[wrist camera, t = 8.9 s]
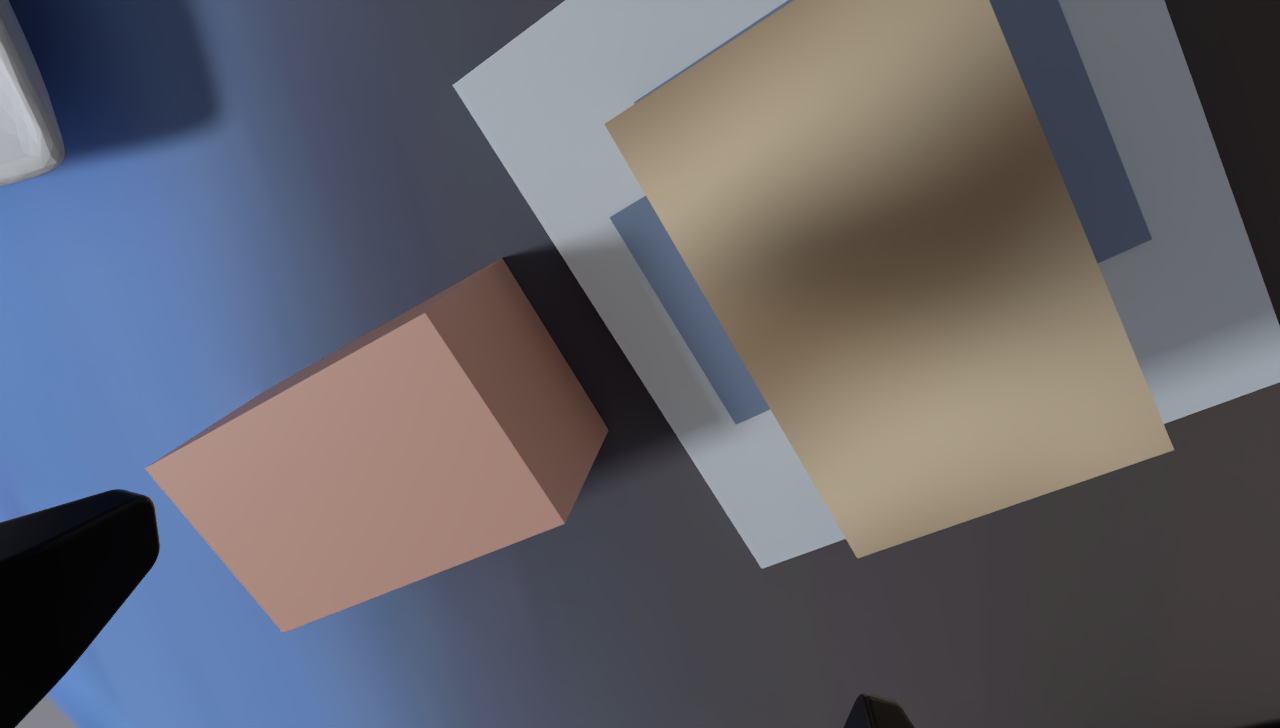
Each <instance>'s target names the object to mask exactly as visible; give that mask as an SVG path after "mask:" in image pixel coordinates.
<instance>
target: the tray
mask: <svg viewBox="0 0 1280 728" xmlns="http://www.w3.org/2000/svg"><path fill="white" fill-rule="evenodd" d="M64 157H65V149H64V143H63V139H62V136H61V133H60V129H59V126H58V123H57V120H56V117H55V114H54V111H53V107H52V104H51V101H50V98H49V95H48V92H47V89H46V86H45V84H44V81H43V79H42V76H41V74H40V71H39V68H38V66H37V63H36V61H35V58H34V56H33V54H32V52H31V49H30V47H29V45H28V42H27V40H26V38H25V35H24V33H23V31H22V29H21V26H20V24H19V22H18V20H17V18H16V16H15V13H14V11H13V9H12V7H11V5H10V2H9V0H0V186H3V185H7V184H12V183H16V182H19V181H23V180H27V179H30V178H34V177H38V176H41V175H44V174H46V173H48V172H50V171H52V170H54V169H56V168H57V167H58V166H60V164H61V163H62V161H63V159H64Z"/></svg>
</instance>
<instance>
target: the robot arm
mask: <svg viewBox="0 0 1280 728" xmlns="http://www.w3.org/2000/svg"><path fill="white" fill-rule="evenodd" d="M159 549H160V543H159V536H158V529H157V522H156V514H155V507H154V504H153V502H152V501H151V499H150V498H149V497H147V496H144V495H141V494H137V493H133V492H130V491H126V490H120V489H116V490H110V491H107V492H103V493H100V494H97V495H93V496H90V497H86V498H83V499H79V500H76V501H73V502H69V503H66V504H62V505H59V506H56V507H52V508H49V509H45V510H42V511H38V512H35V513H32V514H28V515H25V516H21V517H18V518H15V519H11V520H8V521H4V522H1V523H0V728H15V727H16V726H17V725H18V724H19V723H20V722H21V720H23V719H24V718H25V716H26V715H27V714H28V713H29V712H30V711H31V710H32V709H33V708H34V707H35V706H36V705H37V704H38V703H39V702H40V701H41V700H42V699H43V698H44V697H45V696H46V694H47V693H48V692H49V691H50V690H51V689H52V688H53V687H54V686H55V685H56V684H57V683H58V682H59V680H60V679H61V678H62V677H63V676H64V675H65V674H66V673H67V672H68V670H69V669H70V668H71V667H72V666H73V665H74V663H75V662H76V661H77V660H78V659H79V657H80V656H81V655H82V654H83V653H84V651H85V650H86V649H87V648H88V646H89V645H90V644H91V643H92V641H93V640H94V639H95V638H96V636H97V635H98V634H99V633H100V631H101V630H102V629H103V628H104V626H105V625H106V624H107V623H108V622H109V620H110V619H111V618H112V617H113V615H114V614H115V613H116V612H117V610H118V609H119V608H120V607H121V605H122V604H123V603H124V602H125V600H126V599H127V598H128V597H129V595H130V594H131V593H132V592H133V590H134V589H135V588H136V587H137V585H138V584H139V583H140V582H141V580H142V579H143V578H144V577H145V575H146V574H147V573H148V572H149V570H150V569H151V568H152V566H153V565H154V563H155V561H156V559H157V557H158V554H159ZM844 728H914V726H913V725H912V723H911V722H910V720H909V719H908V717H907V716H906V714H905V712H904V711H903V709H902V708H901V707H900V706H899V705H898V704H897V703H896V702H895V701H893V700H890V699H887V698H883V697H879V696H876V695H872V694H869V693H862V694H860V695H859V696H858V698H857V699H856V701H855V703H854V705H853V708H852V710H851V712H850V714H849V716H848V719H847V721H846V723H845V725H844Z"/></svg>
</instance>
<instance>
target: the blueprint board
mask: <svg viewBox="0 0 1280 728" xmlns="http://www.w3.org/2000/svg"><path fill="white" fill-rule="evenodd" d="M792 1H794V0H565V1H564V2H563V3H561V4H560V5H559V6H557V7H556V8H555V9H553V10H552V11H551V12H549V13H548V14H547V15H545V16H544V17H543V18H541V19H540V20H539V21H537V22H536V23H535V24H533V25H532V26H531V27H529V28H528V29H527V30H525V31H524V32H523V33H521V34H520V35H519V36H517V37H516V38H515V39H513V40H512V41H511V42H509V43H508V44H507V45H505V46H504V47H503V48H502V49H500V50H499V51H498V52H496V53H495V54H494V55H492V56H491V57H490V58H488V59H487V60H486V61H484V62H483V63H482V64H480V65H479V66H478V67H476V68H475V69H474V70H472V71H471V72H470V73H468V74H467V75H466V76H464V77H463V78H462V79H460V80H459V81H458V82H456V83H455V84H454V85H453V87H454V88H455V90H456V91H457V93H458V94H459V96H460V98H461V99H462V101H463V102H464V104H465V105H466V107H467V109H468V110H469V112H470V113H471V115H472V116H473V118H474V119H475V121H476V123H477V124H478V126H479V127H480V129H481V130H482V132H483V134H484V135H485V137H486V138H487V140H488V141H489V143H490V145H491V146H492V148H493V149H494V151H495V152H496V154H497V155H498V157H499V159H500V160H501V162H502V163H503V165H504V166H505V168H506V170H507V171H508V173H509V174H510V176H511V177H512V179H513V180H514V182H515V184H516V185H517V187H518V188H519V190H520V191H521V193H522V195H523V196H524V198H525V199H526V201H527V202H528V204H529V206H530V207H531V209H532V210H533V212H534V213H535V215H536V216H537V218H538V220H539V221H540V223H541V224H542V226H543V227H544V229H545V231H546V232H547V234H548V235H549V237H550V238H551V240H552V241H553V243H554V245H555V246H556V248H557V249H558V251H559V252H560V254H561V256H562V257H563V259H564V260H565V262H566V263H567V265H568V267H569V268H570V270H571V271H572V273H573V274H574V276H575V277H576V279H577V281H578V282H579V284H580V285H581V287H582V288H583V290H584V292H585V293H586V295H587V296H588V298H589V299H590V301H591V302H592V304H593V306H594V307H595V309H596V310H597V312H598V313H599V315H600V317H601V318H602V320H603V321H604V323H605V324H606V326H607V327H608V329H609V331H610V332H611V334H612V335H613V337H614V338H615V340H616V342H617V343H618V345H619V346H620V348H621V349H622V351H623V353H624V354H625V356H626V357H627V359H628V360H629V362H630V363H631V365H632V367H633V368H634V370H635V371H636V373H637V374H638V376H639V378H640V379H641V381H642V382H643V384H644V385H645V387H646V388H647V390H648V392H649V393H650V395H651V396H652V398H653V399H654V401H655V403H656V404H657V406H658V407H659V409H660V410H661V412H662V414H663V415H664V417H665V418H666V420H667V421H668V423H669V424H670V426H671V428H672V429H673V431H674V432H675V434H676V435H677V437H678V439H679V440H680V442H681V443H682V445H683V446H684V448H685V449H686V451H687V453H688V454H689V456H690V457H691V459H692V460H693V462H694V464H695V465H696V467H697V468H698V470H699V471H700V473H701V474H702V476H703V478H704V479H705V481H706V482H707V484H708V485H709V487H710V489H711V490H712V492H713V493H714V495H715V496H716V498H717V500H718V501H719V503H720V504H721V506H722V507H723V509H724V510H725V512H726V514H727V515H728V517H729V518H730V520H731V521H732V523H733V525H734V526H735V528H736V529H737V531H738V532H739V534H740V535H741V537H742V539H743V540H744V542H745V543H746V545H747V546H748V548H749V550H750V551H751V553H752V554H753V556H754V557H755V559H756V561H757V562H758V564H759V565H760V567H761V568H762V569H763V568H766V567H768V566H771V565H774V564H777V563H779V562H782V561H785V560H788V559H791V558H793V557H796V556H799V555H802V554H804V553H807V552H810V551H813V550H815V549H818V548H821V547H824V546H827V545H829V544H832V543H835V542H838V541H840V540H843V539H846V538H845V536H844V535H843V533H842V531H841V530H840V528H839V526H838V524H837V523H836V521H835V519H834V518H833V516H832V514H831V512H830V511H829V509H828V507H827V506H826V504H825V502H824V500H823V499H822V497H821V495H820V494H819V492H818V490H817V488H816V487H815V485H814V483H813V481H812V480H811V478H810V476H809V475H808V473H807V471H806V469H805V468H804V466H803V464H802V463H801V461H800V459H799V457H798V456H797V454H796V452H795V451H794V449H793V447H792V445H791V444H790V442H789V440H788V439H787V437H786V435H785V433H784V432H783V430H782V428H781V427H780V425H779V423H778V421H777V420H776V418H775V416H774V415H773V413H772V411H771V409H770V408H769V406H768V404H767V403H766V401H765V399H764V397H763V396H762V394H761V392H760V391H759V389H758V387H757V385H756V384H755V382H754V380H753V378H752V377H751V375H750V373H749V372H748V370H747V368H746V366H745V365H744V363H743V361H742V360H741V358H740V356H739V354H738V353H737V351H736V349H735V348H734V346H733V344H732V342H731V341H730V339H729V337H728V336H727V334H726V332H725V330H724V329H723V327H722V325H721V324H720V322H719V320H718V318H717V317H716V315H715V313H714V312H713V310H712V308H711V306H710V305H709V303H708V301H707V300H706V298H705V296H704V294H703V293H702V291H701V289H700V287H699V286H698V284H697V282H696V281H695V279H694V277H693V275H692V274H691V272H690V270H689V269H688V267H687V265H686V263H685V262H684V260H683V258H682V257H681V255H680V253H679V251H678V250H677V248H676V246H675V245H674V243H673V241H672V239H671V238H670V236H669V234H668V233H667V231H666V229H665V227H664V226H663V224H662V222H661V221H660V219H659V217H658V215H657V214H656V212H655V210H654V209H653V207H652V205H651V203H650V202H649V200H648V198H647V196H646V195H645V193H644V191H643V190H642V188H641V186H640V184H639V183H638V181H637V179H636V178H635V176H634V174H633V172H632V171H631V169H630V167H629V166H628V164H627V162H626V160H625V159H624V157H623V155H622V154H621V152H620V150H619V148H618V147H617V145H616V143H615V142H614V140H613V138H612V136H611V135H610V133H609V131H608V130H607V128H606V126H605V123H606V122H608V121H610V120H611V119H613V118H614V117H616V116H617V115H619V114H620V113H622V112H623V111H625V110H626V109H628V108H629V107H631V106H633V105H634V104H636V103H637V102H639V101H640V100H642V99H643V98H645V97H646V96H648V95H649V94H651V93H652V92H654V91H656V90H657V89H659V88H660V87H662V86H663V85H665V84H666V83H668V82H669V81H671V80H672V79H674V78H675V77H677V76H679V75H680V74H682V73H683V72H685V71H686V70H688V69H689V68H691V67H692V66H694V65H695V64H697V63H698V62H700V61H702V60H703V59H705V58H706V57H708V56H709V55H711V54H712V53H714V52H715V51H717V50H718V49H720V48H721V47H723V46H725V45H726V44H728V43H729V42H731V41H732V40H734V39H735V38H737V37H738V36H740V35H741V34H743V33H744V32H746V31H748V30H749V29H751V28H752V27H754V26H755V25H757V24H758V23H760V22H761V21H763V20H764V19H766V18H767V17H769V16H771V15H772V14H774V13H775V12H777V11H778V10H780V9H781V8H783V7H784V6H786V5H787V4H789V3H790V2H792ZM989 1H990V3H991V6H992V8H993V11H994V13H995V16H996V18H997V21H998V23H999V25H1000V28H1001V30H1002V33H1003V35H1004V38H1005V40H1006V42H1007V45H1008V47H1009V50H1010V52H1011V55H1012V57H1013V59H1014V62H1015V64H1016V67H1017V69H1018V72H1019V74H1020V76H1021V79H1022V81H1023V84H1024V86H1025V89H1026V91H1027V93H1028V96H1029V98H1030V101H1031V103H1032V106H1033V108H1034V110H1035V113H1036V115H1037V118H1038V120H1039V123H1040V125H1041V127H1042V130H1043V132H1044V135H1045V137H1046V140H1047V142H1048V144H1049V147H1050V149H1051V152H1052V154H1053V157H1054V159H1055V162H1056V164H1057V166H1058V169H1059V171H1060V174H1061V176H1062V179H1063V181H1064V183H1065V186H1066V188H1067V191H1068V193H1069V196H1070V198H1071V200H1072V203H1073V205H1074V208H1075V210H1076V213H1077V215H1078V217H1079V220H1080V222H1081V225H1082V227H1083V230H1084V232H1085V234H1086V237H1087V239H1088V242H1089V244H1090V247H1091V249H1092V251H1093V254H1094V256H1095V259H1096V261H1097V264H1098V266H1099V268H1100V271H1101V273H1102V276H1103V278H1104V281H1105V283H1106V285H1107V288H1108V290H1109V293H1110V295H1111V298H1112V300H1113V302H1114V305H1115V307H1116V310H1117V312H1118V315H1119V317H1120V320H1121V322H1122V324H1123V327H1124V329H1125V332H1126V334H1127V337H1128V339H1129V341H1130V344H1131V346H1132V349H1133V351H1134V354H1135V356H1136V358H1137V361H1138V363H1139V366H1140V368H1141V371H1142V373H1143V375H1144V378H1145V380H1146V383H1147V385H1148V388H1149V390H1150V392H1151V395H1152V397H1153V400H1154V402H1155V405H1156V407H1157V409H1158V412H1159V414H1160V417H1161V419H1162V422H1163V424H1165V423H1168V422H1170V421H1173V420H1176V419H1179V418H1182V417H1184V416H1187V415H1190V414H1193V413H1195V412H1198V411H1201V410H1204V409H1207V408H1209V407H1212V406H1215V405H1218V404H1220V403H1223V402H1226V401H1229V400H1232V399H1234V398H1237V397H1240V396H1243V395H1245V394H1248V393H1251V392H1254V391H1256V390H1259V389H1262V388H1265V387H1268V386H1270V385H1273V384H1276V383H1279V382H1280V326H1279V323H1278V320H1277V317H1276V314H1275V312H1274V309H1273V306H1272V303H1271V300H1270V298H1269V295H1268V292H1267V289H1266V286H1265V283H1264V281H1263V278H1262V275H1261V272H1260V269H1259V266H1258V264H1257V261H1256V258H1255V255H1254V252H1253V249H1252V247H1251V244H1250V241H1249V238H1248V235H1247V233H1246V230H1245V227H1244V224H1243V221H1242V218H1241V216H1240V213H1239V210H1238V207H1237V204H1236V201H1235V199H1234V196H1233V193H1232V190H1231V187H1230V184H1229V182H1228V179H1227V176H1226V173H1225V170H1224V168H1223V165H1222V162H1221V159H1220V156H1219V153H1218V151H1217V148H1216V145H1215V142H1214V139H1213V136H1212V134H1211V131H1210V128H1209V125H1208V122H1207V120H1206V117H1205V114H1204V111H1203V108H1202V105H1201V103H1200V100H1199V97H1198V94H1197V91H1196V88H1195V86H1194V83H1193V80H1192V77H1191V74H1190V71H1189V69H1188V66H1187V63H1186V60H1185V57H1184V55H1183V52H1182V49H1181V46H1180V43H1179V40H1178V38H1177V35H1176V32H1175V29H1174V26H1173V23H1172V21H1171V18H1170V15H1169V12H1168V9H1167V7H1166V4H1165V1H1164V0H989Z"/></svg>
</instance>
